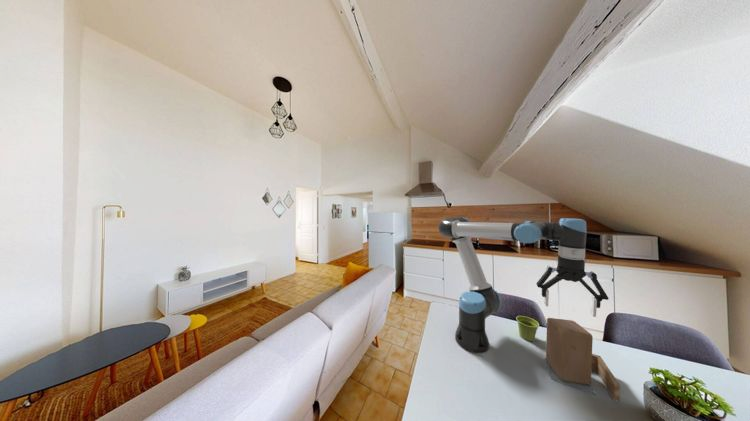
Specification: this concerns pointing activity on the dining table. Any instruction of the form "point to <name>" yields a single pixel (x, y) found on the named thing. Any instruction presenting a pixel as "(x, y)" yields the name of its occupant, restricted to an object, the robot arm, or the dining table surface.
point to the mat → (580, 386)
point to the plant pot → (527, 327)
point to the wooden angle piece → (606, 376)
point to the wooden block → (569, 350)
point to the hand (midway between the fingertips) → (568, 309)
